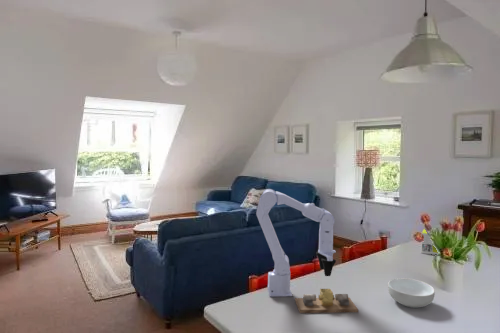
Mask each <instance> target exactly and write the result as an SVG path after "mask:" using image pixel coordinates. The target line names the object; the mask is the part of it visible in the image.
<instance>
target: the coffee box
mask: <svg viewBox="0 0 500 333" xmlns="http://www.w3.org/2000/svg"><path fill="white" fill-rule="evenodd" d="M425 229H426V228H423V229H422V231H421V235H422V234H423V235H424V242H420V244H421V245H420V254H424V255H431V254H432V256H436V255H435V254H438V252H437V250H436V248H435V247H434V246H433V245H431V244H429V243H432V241H431V240H430V238H429V236H428V235H427V232H426V230H425Z"/></svg>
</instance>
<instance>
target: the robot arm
mask: <svg viewBox="0 0 500 333" xmlns="http://www.w3.org/2000/svg"><path fill="white" fill-rule="evenodd" d="M276 204H277V206H279V205H286V206H288V207H291V208H293V209H296V210H298V211H300V212H301V215H302V216H304V217H305V218H308V219H310V220H312V221H314V222H317V223H319V230H318V250H317V251H316V252H315V254H316V256H317V259H318V263H319V269H320V270H323V273H324V277H331V275H332V272H333V269H334V265H335V264H336V261H337V260H336V259H335V258H334V257H333V256H334V254H336V250H335V249H334V225H335V222H336V220H335V217H334V215H333V214H332V213H331V212H330V211H328V210H327V209H325V208H320V207H318V206H316V205H315V203H314V202H311V203H310V202H308V203H302V202H301V201H299V200H297V199H295V198H293V197H291V196H289V195H287V194H285V193H283V192H280V191H277V190H276V191H275V189H272V188H267V189H265V190H263V192H262V194H261V195H260V197H259V201H258V204H257V208H256V212H255V214H256V217H257V220H258V222H259V225H260V227H261V229H262V232H263V235H264V238H265V240H266V242H267V245H268V248H269V249H270V253H271V255H272V260H273V262H274V266H273V268H274V269H273V270H272V271H268V273H267V292H268V295H269V297H293V294H292V291H291V270H290V269H291V267H290V266H291V265H290V259H289V257H288V255H287V254H286V253H285V251H284V249H283V248H282V245H281V244H280V241H279V238H278V236H277V232H276V230H275V228H274V226H273V223H272V221H271V218H270V216H269V213H270V211H271V209H273V207H274V206H275V205H276Z"/></svg>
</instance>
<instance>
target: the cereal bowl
mask: <svg viewBox="0 0 500 333" xmlns="http://www.w3.org/2000/svg"><path fill="white" fill-rule="evenodd" d="M387 290H388V293H389V296H390V297H391V298H392V299H394V301H396V302H397V303H399V304H401V306H402V305H403V306H405V307H407V308H412V309H413V308H414V309H415V308H421V307H427V306H428V305H430V304H431V303H432V302H433V301H434V298H435V293H436V292H435V288H434V287H433V286H432V285H430V284H429V283H427V282H425V281H422V280H418V279H414V278H406V277H405V278H403V277H402V278H401V277H400V278H399V277H397V278H394V279H390V280H389V281H388V282H387Z"/></svg>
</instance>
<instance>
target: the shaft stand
mask: <svg viewBox="0 0 500 333" xmlns="http://www.w3.org/2000/svg"><path fill="white" fill-rule="evenodd" d="M294 300H295V305H296V307H297V309H298V313H299V314H314V313H315V314H317V313H318V314H319V313H320V314H323V313H325V314H327V313H328V314H329V313H331V314H332V313H334V314H335V313H358V312H359V308H358V307H357V305H356V304H355V303H354V302H353V300H352V299H351V298H350V297H349V294H348V293H336V294H334V300H333V306H322V304H321V302H320V300H319V297H317V295H316V294H315V293H314V294H312V293H310V294H308V293H306V294H305V293H304V294H303V296H302V297H295V299H294Z"/></svg>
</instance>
